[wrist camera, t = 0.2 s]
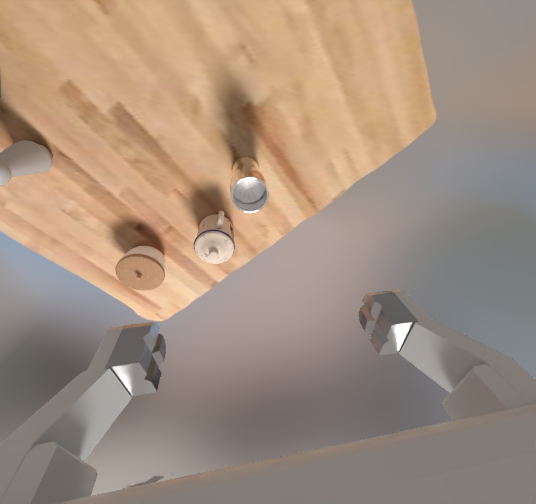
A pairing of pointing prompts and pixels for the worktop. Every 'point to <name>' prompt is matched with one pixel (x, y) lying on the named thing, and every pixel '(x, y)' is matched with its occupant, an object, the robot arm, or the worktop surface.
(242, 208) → the beer glass
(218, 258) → the teacup with lid
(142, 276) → the lidded jar
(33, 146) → the salt shaker
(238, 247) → the worktop surface
